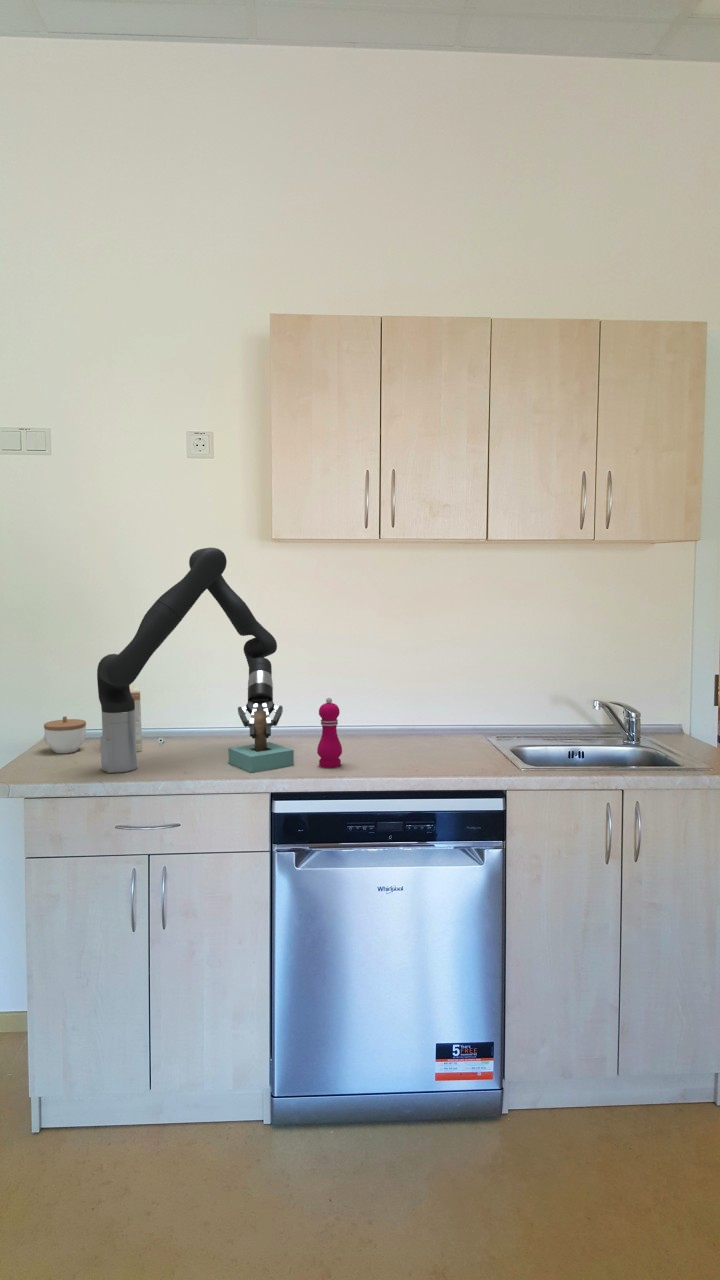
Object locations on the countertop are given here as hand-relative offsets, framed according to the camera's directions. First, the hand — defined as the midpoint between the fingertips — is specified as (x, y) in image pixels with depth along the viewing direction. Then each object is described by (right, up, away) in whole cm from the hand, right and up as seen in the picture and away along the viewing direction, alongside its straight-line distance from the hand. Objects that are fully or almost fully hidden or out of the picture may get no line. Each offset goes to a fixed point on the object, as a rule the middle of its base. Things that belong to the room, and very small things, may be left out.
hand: (260, 736), depth 236 cm
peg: (0, -6, +3) cm, 6 cm away
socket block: (0, -8, +3) cm, 9 cm away
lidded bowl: (-65, -8, +23) cm, 69 cm away
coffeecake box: (-46, -7, +26) cm, 53 cm away
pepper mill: (+20, -9, 0) cm, 22 cm away
